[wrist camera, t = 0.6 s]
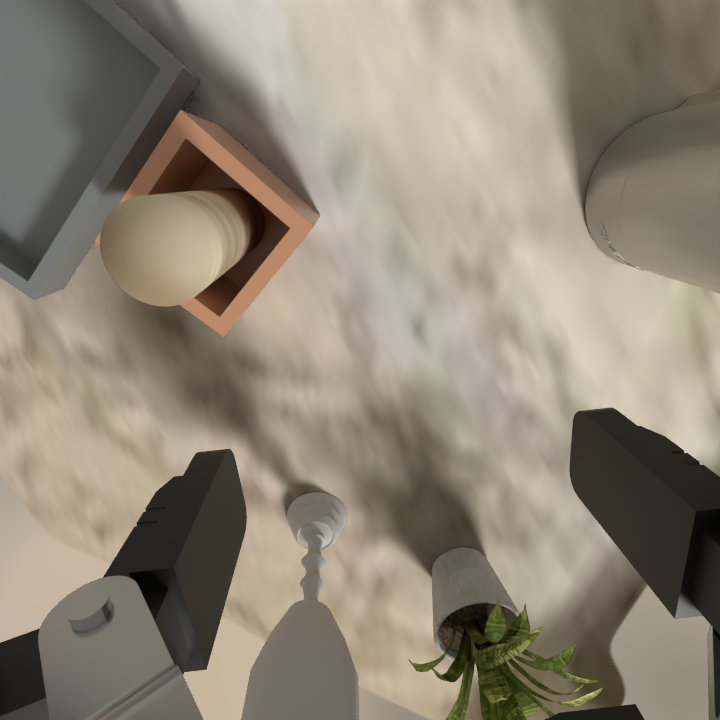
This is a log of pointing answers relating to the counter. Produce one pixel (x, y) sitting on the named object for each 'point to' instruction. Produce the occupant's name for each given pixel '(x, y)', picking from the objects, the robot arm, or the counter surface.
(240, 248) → the peg
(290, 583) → the counter surface
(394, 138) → the counter surface
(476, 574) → the house plant
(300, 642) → the chalice
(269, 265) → the terracotta open box
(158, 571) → the robot arm
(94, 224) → the tray
